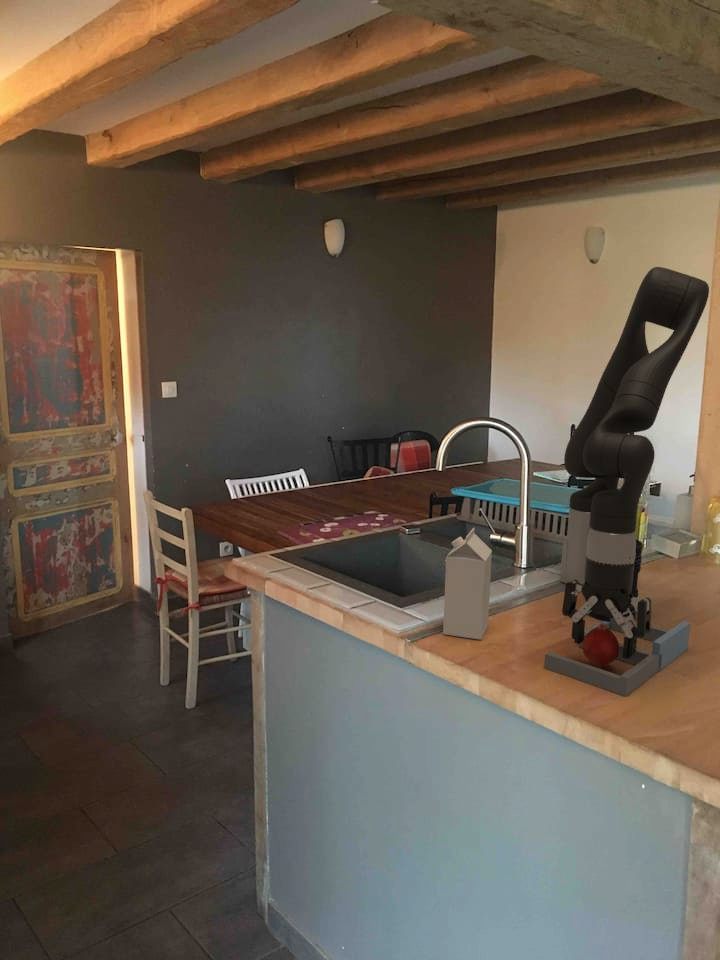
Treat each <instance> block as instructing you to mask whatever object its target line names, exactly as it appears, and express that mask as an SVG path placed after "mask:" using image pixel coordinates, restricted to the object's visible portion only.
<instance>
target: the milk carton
mask: <svg viewBox="0 0 720 960" xmlns="http://www.w3.org/2000/svg"><path fill="white" fill-rule="evenodd" d="M475 529H476V528H475V527H472V529H471V530H470V531H469V532H468V534H467V535H466V536H465V539H463V537H462V536H458V537H457V538H456V539H454V540H453V541H452V542H451V545H452V546H453V548H452V549H451V551H450V552H449V553H448V554H447V556H446V558H445V559H446V560H445V576H444V578H445V579H444V598H443V599H444V601H443V603H444V604H443V606H444V607H443V627H442V630H443V631H442V634H443V635H444V636H445V635H446V636H453V637H460V638H467V639H472V640H483V637H484V635H485V633H486V631H487V629H488V626H489V615H490V614H489V613H490V611H489V610H490V596H491V594H490V593H491V592H490V591H491V574H492V560H493V559H492V556H493V555H492V554H493V550H492V549H491V548H490V547H489V546H488V545H487V544H486V543H485V542H484V541H483V540H482V539H481V538H480V537H479V536H478V535H477V534H476V533H475Z"/></svg>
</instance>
